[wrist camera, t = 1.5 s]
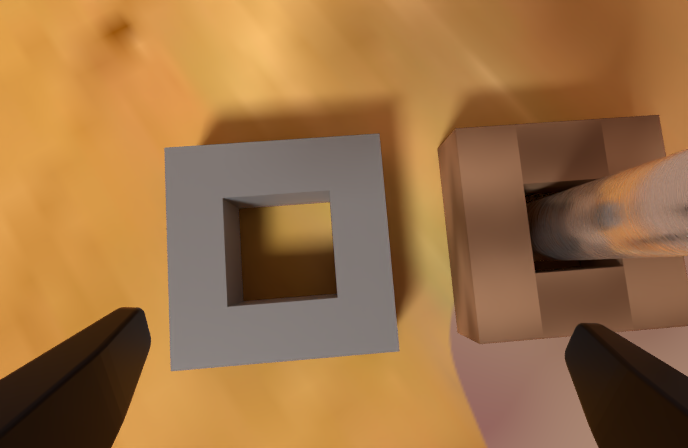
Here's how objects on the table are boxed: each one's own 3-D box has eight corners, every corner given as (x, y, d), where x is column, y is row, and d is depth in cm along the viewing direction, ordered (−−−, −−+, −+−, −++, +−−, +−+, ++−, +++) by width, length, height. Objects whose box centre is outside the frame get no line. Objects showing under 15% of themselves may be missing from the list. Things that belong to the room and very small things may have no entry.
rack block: (389, 338, 23) (399, 351, 19) (196, 355, 22) (170, 371, 19) (372, 153, 24) (379, 133, 20) (189, 165, 23) (164, 147, 20)
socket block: (641, 317, 23) (695, 325, 20) (457, 332, 23) (480, 344, 19) (612, 136, 24) (658, 114, 21) (437, 148, 24) (455, 128, 21)
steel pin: (572, 260, 23) (922, 248, 10) (510, 265, 23) (772, 260, 9) (563, 198, 24) (886, 99, 10) (502, 202, 24) (742, 108, 10)
